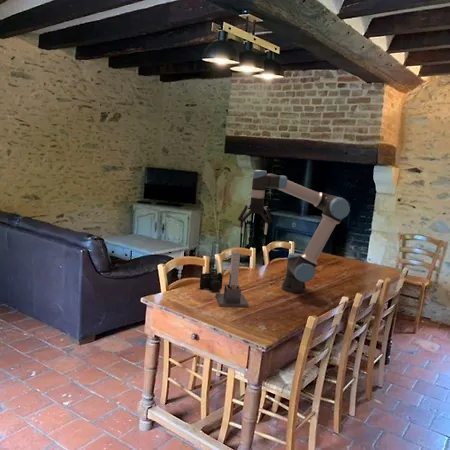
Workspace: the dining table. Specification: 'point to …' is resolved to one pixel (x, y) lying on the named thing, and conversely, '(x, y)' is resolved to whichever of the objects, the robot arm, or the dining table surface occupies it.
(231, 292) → the stand base
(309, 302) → the dining table surface
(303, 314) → the dining table surface
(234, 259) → the column
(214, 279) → the camera
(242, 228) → the robot arm
